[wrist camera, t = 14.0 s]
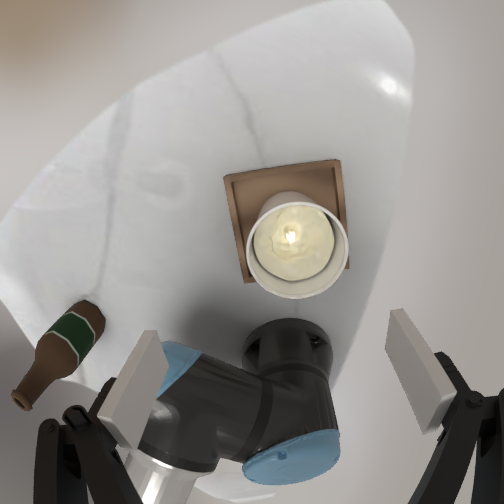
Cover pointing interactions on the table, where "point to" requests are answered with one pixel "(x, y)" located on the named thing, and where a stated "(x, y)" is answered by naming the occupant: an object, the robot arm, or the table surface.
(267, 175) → the tray
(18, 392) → the beer bottle
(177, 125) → the table surface
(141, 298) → the table surface
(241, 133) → the table surface
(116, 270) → the table surface
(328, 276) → the candle holder
